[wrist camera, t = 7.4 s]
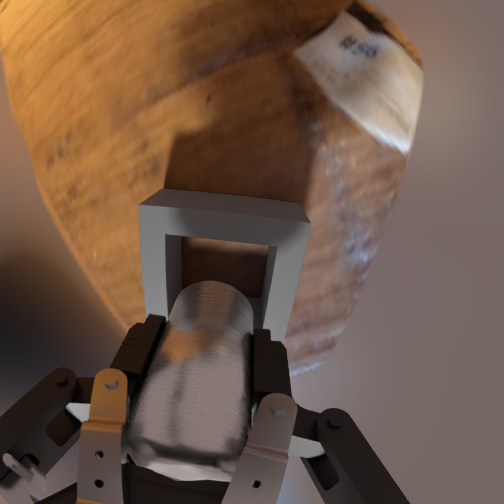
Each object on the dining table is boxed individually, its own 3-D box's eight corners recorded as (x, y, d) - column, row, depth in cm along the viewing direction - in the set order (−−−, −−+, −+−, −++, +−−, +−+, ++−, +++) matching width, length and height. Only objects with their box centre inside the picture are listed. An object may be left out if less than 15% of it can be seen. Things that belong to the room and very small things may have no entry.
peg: (173, 275, 13) (106, 422, 5) (258, 285, 13) (259, 449, 6) (175, 338, 14) (136, 469, 7) (248, 347, 14) (244, 486, 7)
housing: (162, 188, 17) (138, 204, 14) (299, 203, 18) (311, 223, 14) (163, 302, 21) (149, 334, 17) (277, 315, 21) (281, 351, 18)
